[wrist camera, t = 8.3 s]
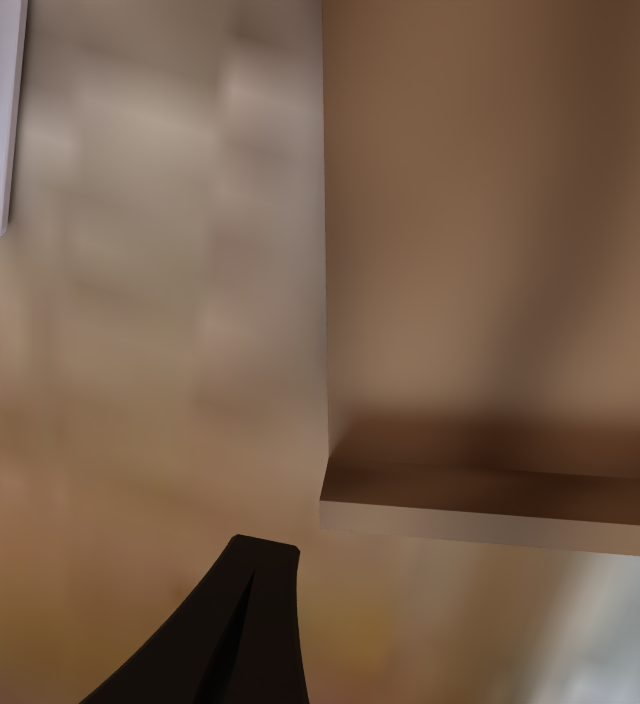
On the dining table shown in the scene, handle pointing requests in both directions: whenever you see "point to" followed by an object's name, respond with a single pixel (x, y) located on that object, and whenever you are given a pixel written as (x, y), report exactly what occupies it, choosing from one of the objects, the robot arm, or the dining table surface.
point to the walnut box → (483, 271)
